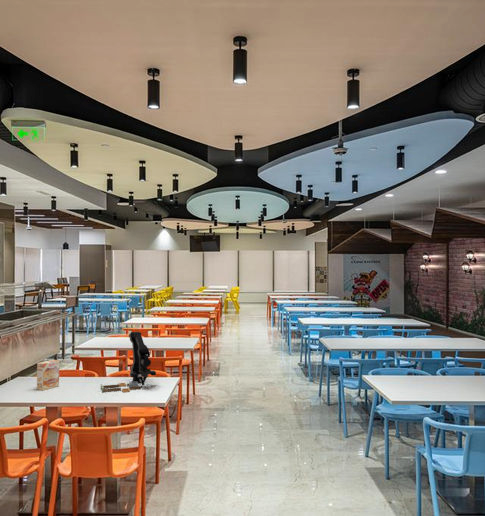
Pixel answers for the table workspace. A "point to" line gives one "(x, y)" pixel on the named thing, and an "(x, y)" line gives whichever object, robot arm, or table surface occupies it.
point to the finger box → (116, 388)
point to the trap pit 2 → (126, 390)
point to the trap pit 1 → (122, 384)
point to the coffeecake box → (47, 374)
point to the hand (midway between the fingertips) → (142, 385)
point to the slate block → (133, 384)
